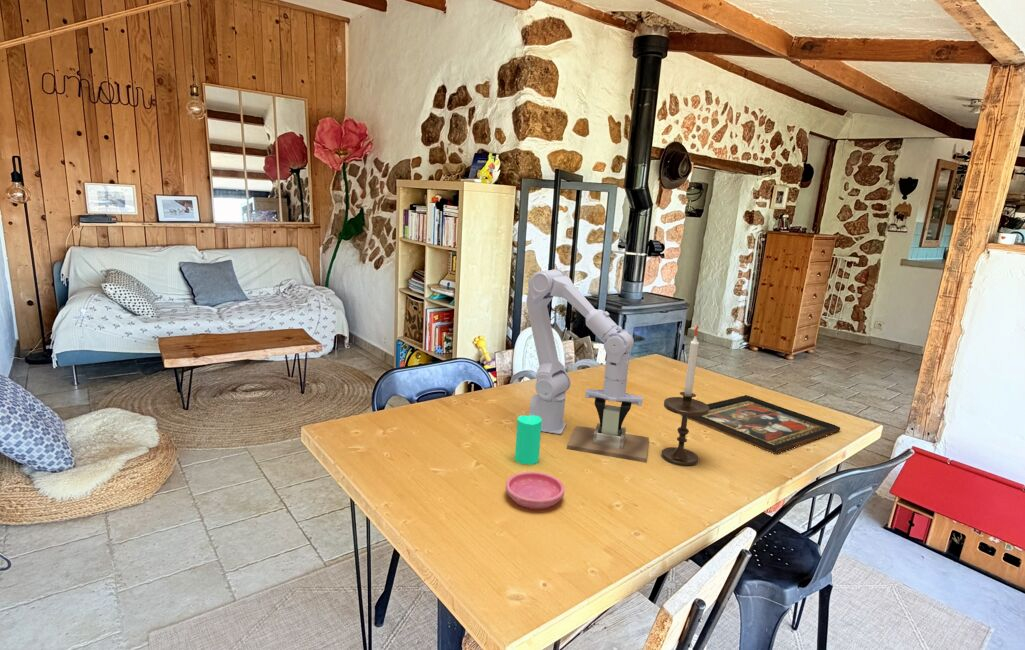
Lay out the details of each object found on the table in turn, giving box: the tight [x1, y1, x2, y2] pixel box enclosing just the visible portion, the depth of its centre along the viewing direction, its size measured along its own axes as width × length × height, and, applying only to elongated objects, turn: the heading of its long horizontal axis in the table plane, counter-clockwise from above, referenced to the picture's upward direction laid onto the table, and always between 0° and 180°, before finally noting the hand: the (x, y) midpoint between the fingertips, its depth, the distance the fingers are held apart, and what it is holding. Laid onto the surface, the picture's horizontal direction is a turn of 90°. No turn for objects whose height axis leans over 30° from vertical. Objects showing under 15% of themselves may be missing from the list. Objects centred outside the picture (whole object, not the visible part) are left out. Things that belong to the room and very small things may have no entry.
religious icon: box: [687, 394, 841, 455], centre depth 169 cm, size 38×35×3 cm
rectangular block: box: [602, 404, 621, 436], centre depth 146 cm, size 4×4×8 cm
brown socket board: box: [566, 422, 650, 463], centre depth 147 cm, size 20×14×4 cm
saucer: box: [505, 471, 565, 510], centre depth 118 cm, size 12×12×3 cm
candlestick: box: [660, 323, 710, 467], centre depth 138 cm, size 11×11×35 cm
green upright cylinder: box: [514, 414, 542, 466], centre depth 135 cm, size 6×6×12 cm
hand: (610, 427), depth 146 cm, fingers closed on rectangular block, 4 cm apart
